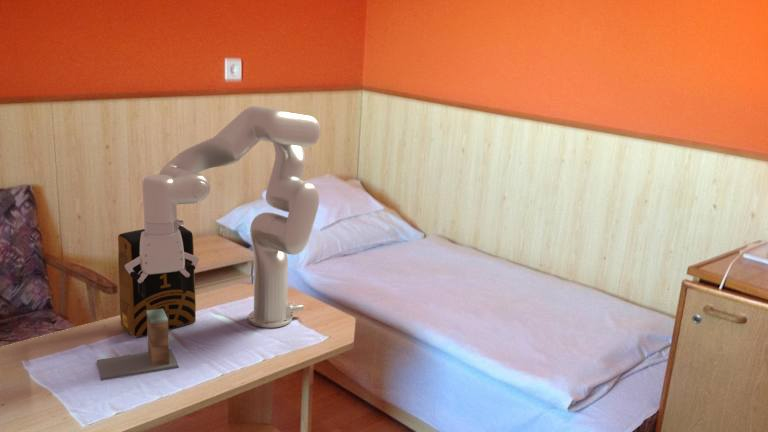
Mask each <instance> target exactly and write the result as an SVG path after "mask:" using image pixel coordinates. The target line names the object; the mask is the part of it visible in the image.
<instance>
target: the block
mask: <svg viewBox="0 0 768 432" xmlns="http://www.w3.org/2000/svg"><path fill="white" fill-rule="evenodd" d="M147 334H148V335H147V352H148V355H149V358H150V360H151V363H152V366H160V365H166V364H169V349H170V343H169V342H170V341H169V339H170V338H169V336H170V335H169V330H168V318H167V316H166V314H165V312H164V309H155V310H147Z"/></svg>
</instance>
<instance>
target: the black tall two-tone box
mask: <svg viewBox="0 0 768 432" xmlns="http://www.w3.org/2000/svg"><path fill="white" fill-rule="evenodd" d="M178 229H179V230H180V233H181V237H182V242H183V249H184V252H186V253H189V254H191V255H194V256H195V254H194V253H195V250H194V235H193V233H192V231H190V230H189V229H187V228H186V227H184V225H183V226H180V227H179V228H178ZM143 231H145V228H143V229H136V230H131V231H126V232H123V233H120V234H118V236H117V242H118V249H117V250H118V251H117V252H118V255H117V256H118V260H117V263H118V283H119V284H118V285H119V287H118V288H119V315H120V317H119V318H120V325H121V326H122V328H123V329H124V330H125V331H126V332H128V334H130V335H131V336H133V337H134V338H139V337H144V336H148V334H147V310H155V309H164V312H165V314H166V316H167V318H168V331H169V330H173V329H177V328H180V327H184V326H188V325H191V324H194V323H196V318H197V315H196V313H197V312H196V311H197V309H196V305H197V304H196V302H197V301H196V280H195V279H196V278H195V270H194V271H193V272H192V273H191V274H190V276H189V277H188V281H189V288H186V289H187V293H183V291H182V289H181V275H182V273H181V272H180V271H177V272H169V273H161V274H151V275H148V276H147V277H146V278H145V279H144V281H145V287H146V297H145V298H143V297H142V295H141V294H139V291H138V281H136V280H135V279H134V278H132V277H131V276H130V274H129V273H128V271H127V270H126V268H125V265H126V264H127V263H129V262H131V261H132V260H134V259H136V258H137V257H139V256H140V238H141V233H142V232H143ZM190 264H191V260H188V259H185V268H187V267H188V266H189V265H190ZM141 269H142V268H141V267H140V264H138V265H137V266H135V267H133V270H134V271H135V272H136V273H139V272H140V271H141Z"/></svg>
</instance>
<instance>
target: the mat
mask: <svg viewBox="0 0 768 432" xmlns="http://www.w3.org/2000/svg"><path fill="white" fill-rule="evenodd" d="M96 363H97V369H98V373H99V377H100V381H105V380H112V379H118V378H122V377H130V376H135V375H142V374H148V373H154V372H155V373H156V372H159V371H166V370H173V369H177V368H179V365H180V364H179V363H178V361H177V359H176V356H175V354H174V352H173V349H172V348H171V347H169V364H166V365H160V366H152V363H151V360H150V358H149V355H148V351H146V352H140V353H139V352H138V353H132V354H126V355H125V354H124V355H118V356H114V357H106V358H105V357H104V358H101V359H96Z"/></svg>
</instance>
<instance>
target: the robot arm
mask: <svg viewBox="0 0 768 432" xmlns="http://www.w3.org/2000/svg"><path fill="white" fill-rule="evenodd" d="M320 137H321V125H320V123H319V121H318V120H317V119H316V118H315V117H314V116H312V115H308V114H303V113H296V112H292V111H285V110H280V109H275V108H268V107H263V106H255V105H254V106H253V105H252V106H249V107H247V108H245V109H243V111H241V112H240V113H239V114H238V115H237V116H236V117H235V118H233V119H232V120H231V121H230V122H229V123H228V124H226V126H225V127H223V128H222V129H221V130H220V131H219V132H218V133H217V134H215V136H213V137H212V138H209V139H206V140H204V141H201V142H199V143H197V144H195V145H192V146H190V147H188V148H186V149H185V150H183V151H181V152H179V153H178V154H177V155H176V156H175V157H173V158H172V159H171V160H170V161H168V162H167V164H165V166H164V167H162V169H161V170H160V172H159V173H158V174H152V175H148V176H145V178H144V179H143V180H142V189H141V190H142V206H143V207H142V208H143V209H142V210H143V223H144V228H143V229H145V231H143V232H142V233H141V238H140V256H139V257H137V258H136V259H134V260H132V261H131V262H129V263H127V264H126V265H125V268H126V270H127V271H128V273H129V274H130V276H131V277H132V278H134V279H135V280H136V281H138V291H139V294H141V295H142V297H143V298H145V297H146V287H145V281H144V279H145V278H146V277H147V276H148V275H151V274H161V273H169V272H177V271H180V272H181V273H182V275H181V289H182V291H183V293H187V289H186V288H189V281H188V277H189V276H190V274H191V273H192V272H193V271H194V272H195V270H196V267H197V265H198V263H199V261H200V258H199V256H196V255H195V254H194V255H191V254H189V253H186V252H184V249H183V242H182V237H181V233H180V230H179V229H178V228H179V227H180V226H183V227H184V220H180V219H179V218H178V214H177V213H178V210H177V209H178V208H177V206H179V205H189V204H190V205H191V204H198V203H201V202H202V201H204V200H205V199H206V198H208V196H209V193H210V190H211V185H210V182H209V180H208V179H207V178H206V176H204V175H203V174H201V172H203V171H206V170H209V169H213V168H221V167H226V166H230V165H235V164H236V163H238V162H239V161H240V160H241V159H242V158H243V157H244V156H245V155H246V154H248V153H249V152H250V151H251V150H252V148H254V147H255V146H256V145H257V144H258V143H259V142H261V141H264V142H268V143H272V144H273V147H274V151H275V153H274V154H275V155H274V163H273V165H272V168H271V169H272V170H271V172H270V173H271V174H270V176H269V180H268V184H267V188H266V191H265V201H266V203H267V204H268V205H269V207H272V208H273V209H277V210H279V211H282V212H286V213H288V214H287V216H285V215H281V214H278V213H274V212H262V213H259V214H257V215H256V216H255V217H253V219H252V221H251V224H250V231H249V232H250V240H251V243H252V244H251V245H252V250H253V310H252V311H251V312H249V314H248V316H247V318H248V322H249V323H250V324H251V325H253V326H255V327H259V328H265V329H266V328H267V329H268V328H269V329H273V328H280V327H284V326H286V325H288V324H290V323H291V322H292V320H293V314H294V312H295V313H296V312H303V311H304V305H303V304H301V303H300V304H297V302H291V303H289V302H288V285H289V284H288V277H289V271H288V270H289V259H288V255H292V256H296V255H299V254H300V253H302V252H303V251H304V250H305V248H306V247H307V245H308V243H309V240H310V237H311V234H312V231H313V227H314V224H315V220H316V218H317V217H316V216H317V213H318V210H319V204H320V194H319V191H318V188H317V186H315V185H314V184H312V183H311V182H310V181H305V180H302V179H303V176H304V171H305V166H306V154H305V153H306V152H305V150H304V148H308V147H311V146H313V145H315V144H316V143H317V142H318V140H319V139H320ZM185 259H188V260H191V264H190V265H189V266H188V267H187V268H185ZM138 264H140V267H141V268H142V269H141V271H140V272H139V273H136V272H135V271H134V270H133V267H135V266H137V265H138Z"/></svg>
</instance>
